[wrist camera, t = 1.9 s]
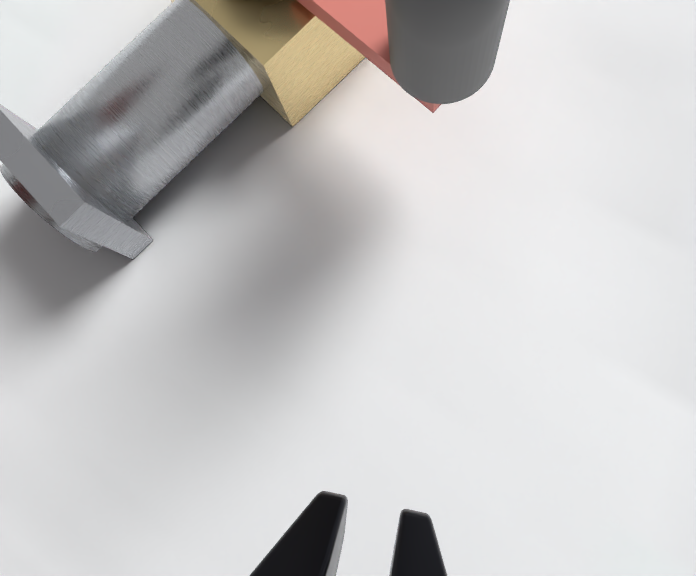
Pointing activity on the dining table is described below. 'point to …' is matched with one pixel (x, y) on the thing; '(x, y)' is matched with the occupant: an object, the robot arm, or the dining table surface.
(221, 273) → the dining table surface
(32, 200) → the valve body
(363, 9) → the lever
